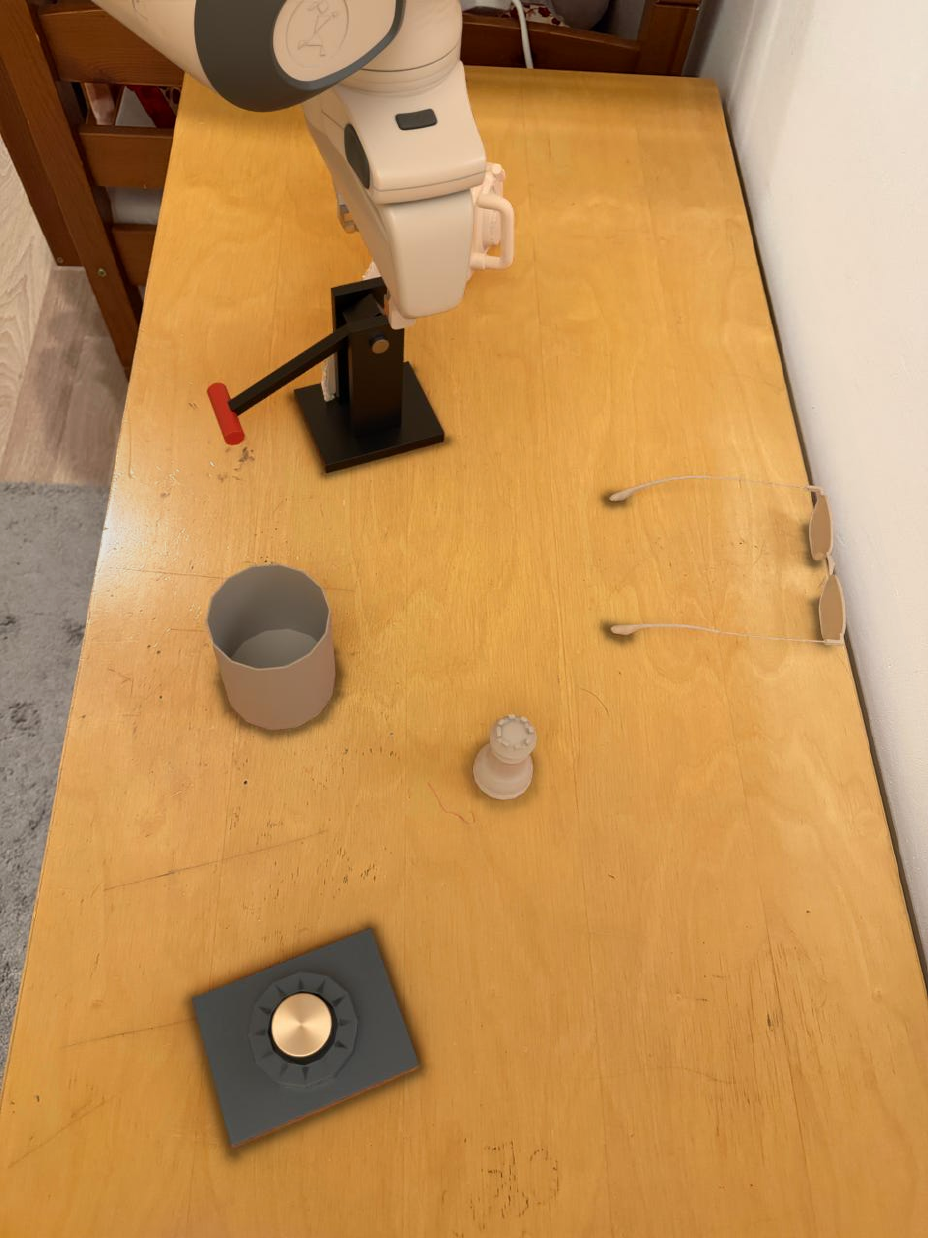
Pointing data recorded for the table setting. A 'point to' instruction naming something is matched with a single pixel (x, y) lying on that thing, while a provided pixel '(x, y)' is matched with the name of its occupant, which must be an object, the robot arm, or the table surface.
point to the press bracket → (367, 391)
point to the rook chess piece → (506, 758)
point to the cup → (273, 645)
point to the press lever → (283, 373)
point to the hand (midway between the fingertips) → (375, 271)
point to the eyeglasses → (821, 548)
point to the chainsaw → (488, 229)
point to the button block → (294, 1089)
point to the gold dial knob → (302, 1026)
